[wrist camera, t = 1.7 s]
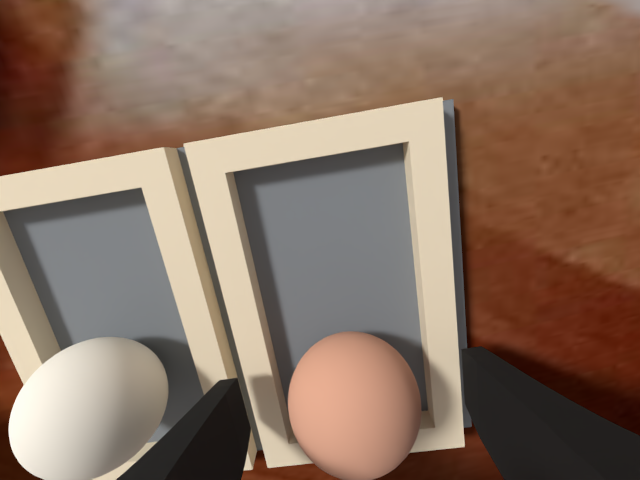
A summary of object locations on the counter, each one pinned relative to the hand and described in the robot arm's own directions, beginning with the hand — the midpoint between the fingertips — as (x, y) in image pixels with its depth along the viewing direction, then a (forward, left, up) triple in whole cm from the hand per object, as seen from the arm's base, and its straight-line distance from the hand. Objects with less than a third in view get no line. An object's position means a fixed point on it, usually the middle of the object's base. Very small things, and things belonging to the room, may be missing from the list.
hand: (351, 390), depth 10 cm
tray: (+4, -2, -2) cm, 5 cm away
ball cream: (+8, -1, 0) cm, 8 cm away
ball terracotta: (0, 0, 0) cm, 0 cm away
